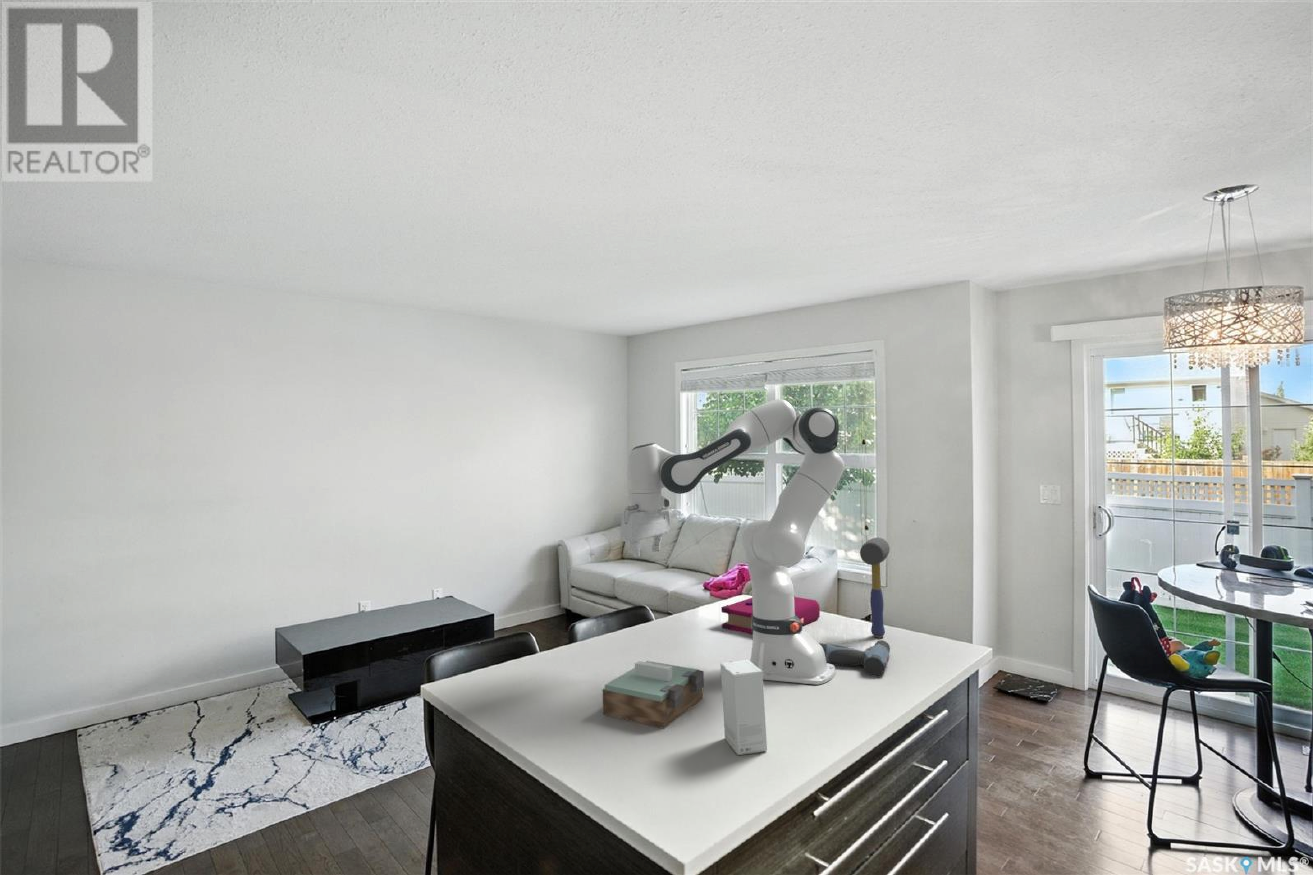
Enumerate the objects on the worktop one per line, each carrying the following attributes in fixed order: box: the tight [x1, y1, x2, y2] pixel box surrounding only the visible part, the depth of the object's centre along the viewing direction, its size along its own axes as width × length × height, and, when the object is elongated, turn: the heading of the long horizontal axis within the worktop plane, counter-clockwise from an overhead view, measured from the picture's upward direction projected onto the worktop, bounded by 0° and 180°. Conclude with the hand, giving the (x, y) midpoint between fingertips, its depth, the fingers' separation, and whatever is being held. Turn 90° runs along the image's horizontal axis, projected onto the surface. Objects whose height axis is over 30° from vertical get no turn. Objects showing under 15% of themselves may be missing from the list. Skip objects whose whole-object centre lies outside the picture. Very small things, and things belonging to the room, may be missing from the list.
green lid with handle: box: [604, 660, 699, 702], centre depth 148 cm, size 15×18×4 cm
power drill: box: [817, 639, 891, 677], centre depth 174 cm, size 5×19×20 cm
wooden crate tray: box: [602, 669, 705, 729], centre depth 147 cm, size 18×18×8 cm
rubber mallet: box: [859, 537, 890, 639], centre depth 195 cm, size 12×8×30 cm, turn 151°
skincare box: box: [720, 659, 768, 756], centre depth 127 cm, size 8×7×16 cm
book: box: [721, 596, 821, 635], centre depth 213 cm, size 21×28×8 cm
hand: (647, 554), depth 173 cm, fingers open, 8 cm apart
